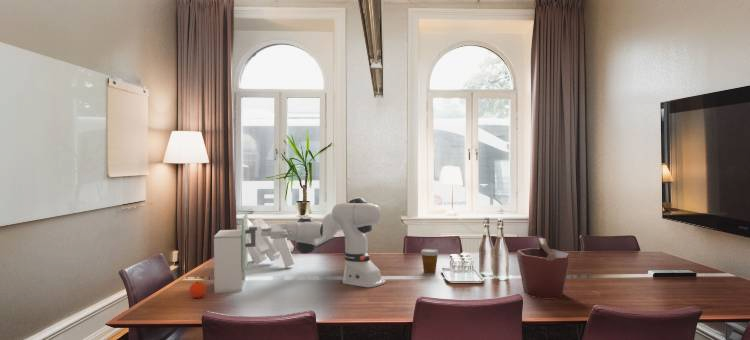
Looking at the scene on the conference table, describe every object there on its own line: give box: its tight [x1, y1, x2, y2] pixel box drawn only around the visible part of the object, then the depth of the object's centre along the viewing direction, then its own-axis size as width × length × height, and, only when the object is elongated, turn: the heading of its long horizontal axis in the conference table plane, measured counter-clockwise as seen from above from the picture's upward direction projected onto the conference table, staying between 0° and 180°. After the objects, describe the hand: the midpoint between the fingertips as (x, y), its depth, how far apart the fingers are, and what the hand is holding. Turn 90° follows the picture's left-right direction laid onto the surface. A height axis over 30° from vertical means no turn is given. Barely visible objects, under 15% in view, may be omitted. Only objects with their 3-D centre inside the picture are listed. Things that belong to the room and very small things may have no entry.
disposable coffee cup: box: [420, 248, 439, 274], centre depth 236 cm, size 10×10×12 cm
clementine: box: [188, 281, 208, 299], centre depth 192 cm, size 8×7×7 cm
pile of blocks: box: [239, 217, 295, 268], centre depth 253 cm, size 35×30×35 cm
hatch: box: [241, 213, 257, 272], centre depth 210 cm, size 6×19×25 cm, turn 11°
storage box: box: [213, 229, 246, 294], centre depth 208 cm, size 12×18×26 cm, turn 11°
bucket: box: [516, 237, 571, 299], centre depth 198 cm, size 24×22×25 cm
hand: (261, 232), depth 211 cm, fingers open, 8 cm apart
